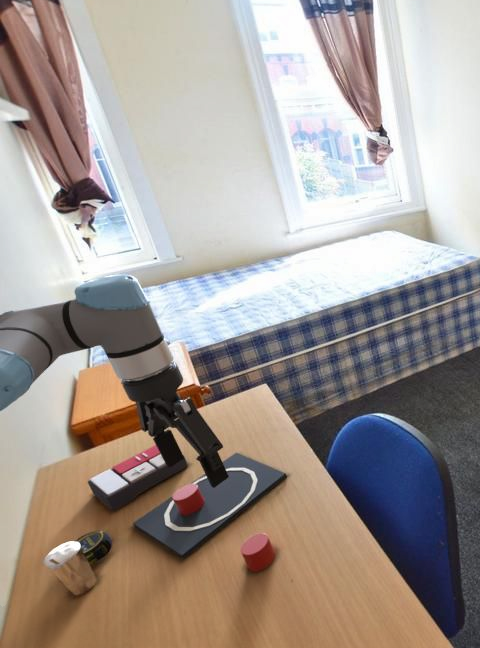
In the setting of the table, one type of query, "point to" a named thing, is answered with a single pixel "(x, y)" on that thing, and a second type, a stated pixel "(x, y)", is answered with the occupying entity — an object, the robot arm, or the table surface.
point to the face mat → (210, 506)
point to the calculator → (132, 477)
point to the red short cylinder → (257, 552)
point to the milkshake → (71, 567)
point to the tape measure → (95, 545)
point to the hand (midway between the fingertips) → (197, 472)
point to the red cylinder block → (188, 499)
